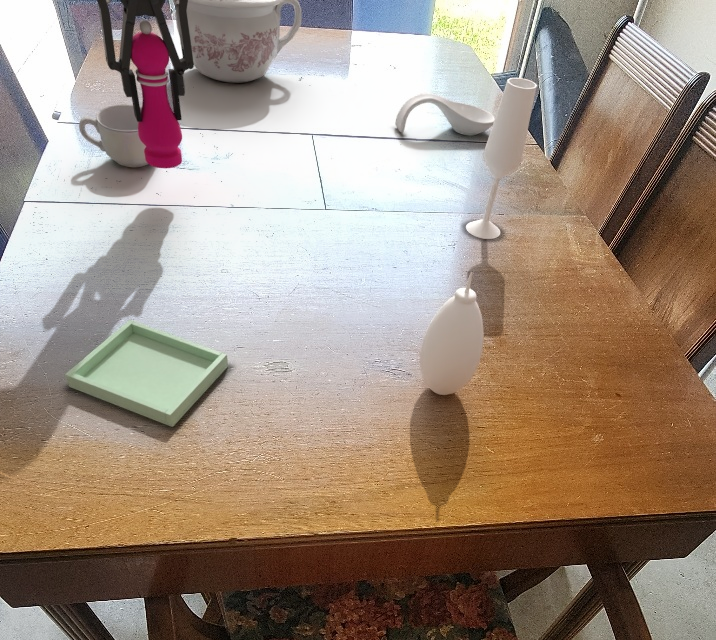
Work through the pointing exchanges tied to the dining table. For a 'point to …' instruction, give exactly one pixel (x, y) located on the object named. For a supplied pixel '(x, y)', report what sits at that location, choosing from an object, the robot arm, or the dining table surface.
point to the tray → (148, 372)
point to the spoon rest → (450, 114)
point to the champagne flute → (505, 145)
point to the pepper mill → (155, 100)
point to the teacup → (117, 134)
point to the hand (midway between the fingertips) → (158, 117)
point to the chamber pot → (237, 36)
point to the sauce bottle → (453, 343)
